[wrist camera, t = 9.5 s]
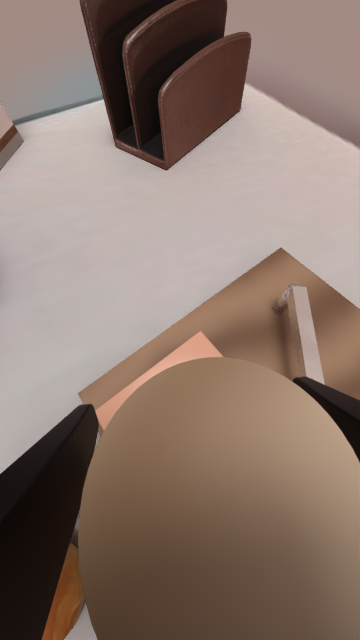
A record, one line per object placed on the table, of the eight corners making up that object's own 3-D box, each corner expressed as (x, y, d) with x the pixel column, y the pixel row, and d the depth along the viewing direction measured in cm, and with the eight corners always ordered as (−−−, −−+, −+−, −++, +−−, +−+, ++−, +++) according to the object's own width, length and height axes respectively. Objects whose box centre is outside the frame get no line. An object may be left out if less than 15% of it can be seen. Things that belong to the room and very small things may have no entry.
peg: (251, 403, 15) (463, 398, 4) (217, 506, 12) (499, 1301, 1) (171, 364, 16) (147, 267, 5) (128, 451, 14) (-109, 650, 3)
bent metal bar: (392, 509, 13) (464, 543, 9) (338, 529, 12) (394, 571, 9) (282, 300, 19) (302, 277, 15) (243, 310, 18) (256, 289, 15)
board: (542, 468, 14) (567, 472, 13) (341, 862, 9) (359, 915, 8) (276, 254, 22) (280, 247, 21) (83, 394, 17) (77, 393, 16)
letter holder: (114, 148, 31) (64, -43, 18) (192, 95, 37) (197, -75, 24) (166, 172, 28) (152, -29, 15) (240, 111, 34) (275, -69, 21)
